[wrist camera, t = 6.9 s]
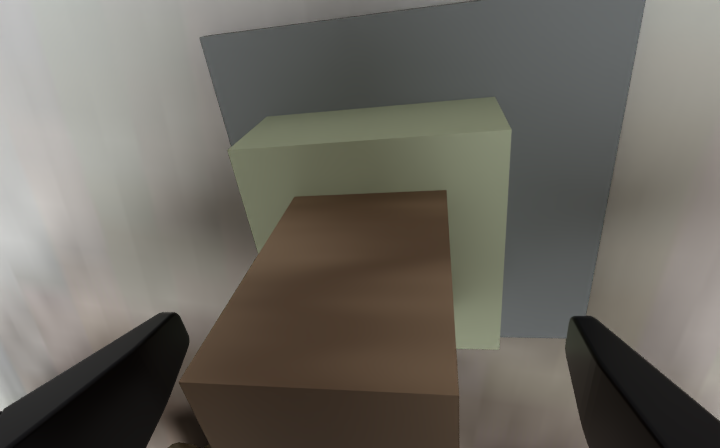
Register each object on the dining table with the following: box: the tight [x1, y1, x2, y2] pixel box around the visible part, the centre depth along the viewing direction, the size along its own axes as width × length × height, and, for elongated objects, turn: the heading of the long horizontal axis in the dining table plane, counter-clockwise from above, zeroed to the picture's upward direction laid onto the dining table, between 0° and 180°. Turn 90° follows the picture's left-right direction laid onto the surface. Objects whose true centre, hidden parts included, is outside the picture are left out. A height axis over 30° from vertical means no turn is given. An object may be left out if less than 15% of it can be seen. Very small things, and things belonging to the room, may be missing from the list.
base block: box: [227, 97, 512, 350], centre depth 13 cm, size 7×7×3 cm
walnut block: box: [179, 190, 459, 448], centre depth 9 cm, size 4×4×6 cm
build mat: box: [200, 0, 646, 338], centre depth 14 cm, size 12×12×1 cm
